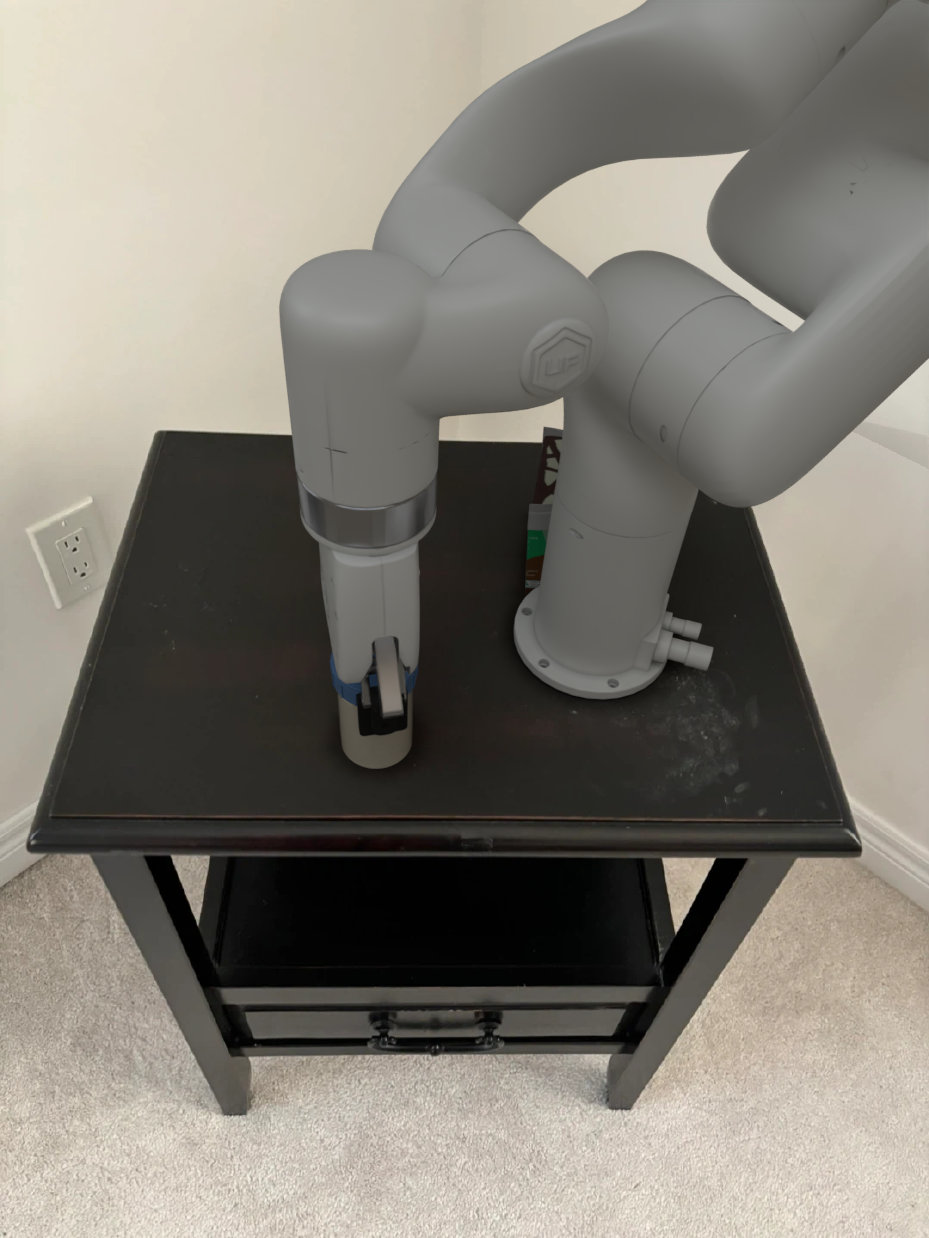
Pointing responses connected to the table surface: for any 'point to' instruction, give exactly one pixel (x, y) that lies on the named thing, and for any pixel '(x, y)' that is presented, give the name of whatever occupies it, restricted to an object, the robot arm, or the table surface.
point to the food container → (542, 506)
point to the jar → (373, 739)
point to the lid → (354, 688)
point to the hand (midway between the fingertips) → (375, 690)
